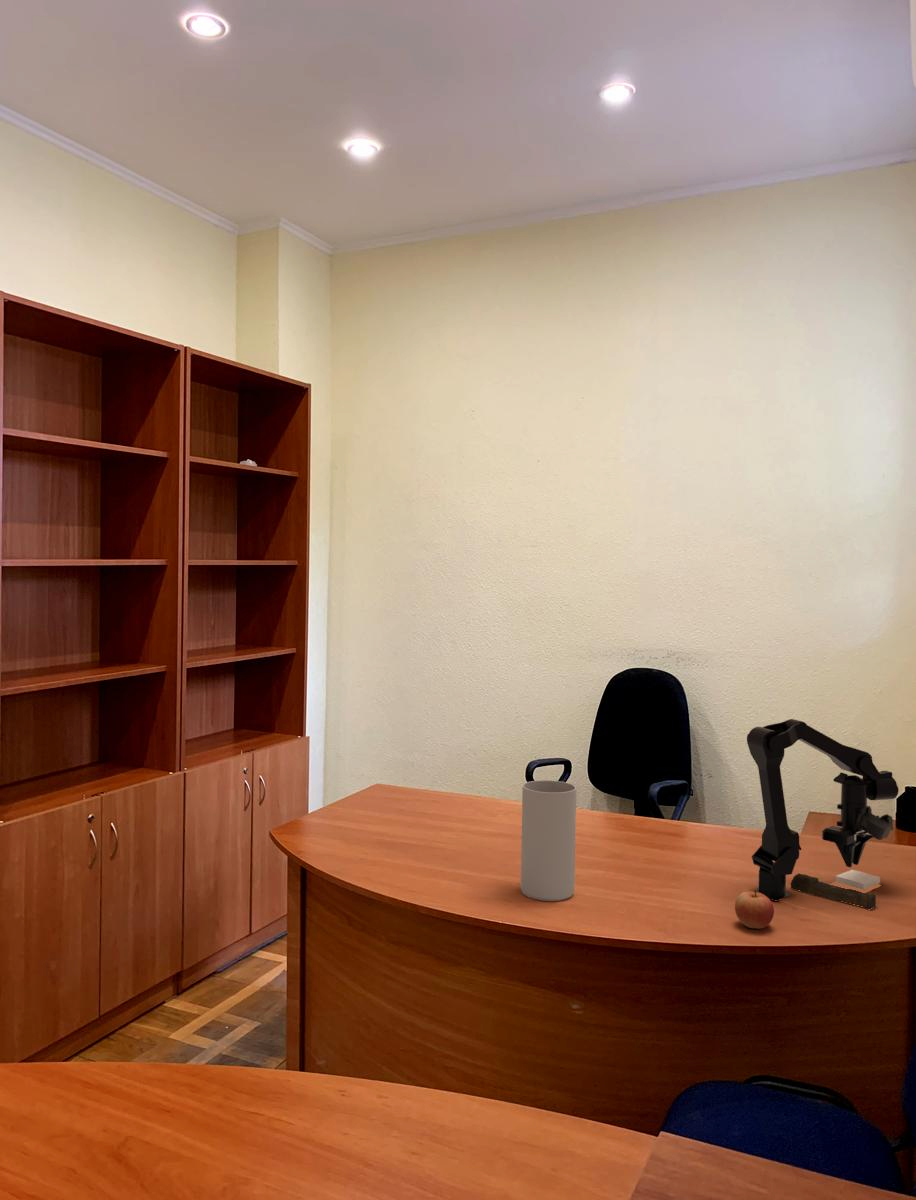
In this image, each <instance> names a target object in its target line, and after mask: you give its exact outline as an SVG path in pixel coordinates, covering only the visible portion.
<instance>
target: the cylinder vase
mask: <svg viewBox="0 0 916 1200" xmlns="http://www.w3.org/2000/svg"><path fill="white" fill-rule="evenodd" d="M521 790H522V794H521V795H522V799H521V804H522V805H521V845H520V846H521V847H520V849H521V851H520V852H521V853H520V892H521V893H522V894H523V895H524V896H526V897H527V898H529V899H533V900H536V901H543V902H558V901H560V902H561V901H564V900H567V899H569V898H571V897H572V896H574V893H575V883H576V882H575V881H576V880H575V878H576V877H575V874H576V873H575V872H576V834H577V833H576V829H577V826H576V825H577V824H576V823H577V821H576V820H577V786H576V785H574V784H573V783H569V782H566V781H562V780H561V781H559V780H548V779H545V780H542V779H541V780H532V781H527V782H524V783H523V784H522V789H521Z"/></svg>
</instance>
